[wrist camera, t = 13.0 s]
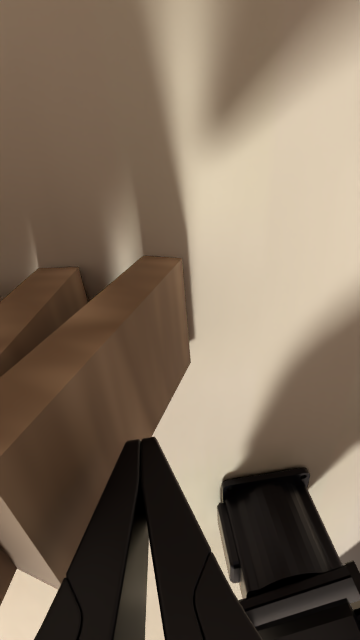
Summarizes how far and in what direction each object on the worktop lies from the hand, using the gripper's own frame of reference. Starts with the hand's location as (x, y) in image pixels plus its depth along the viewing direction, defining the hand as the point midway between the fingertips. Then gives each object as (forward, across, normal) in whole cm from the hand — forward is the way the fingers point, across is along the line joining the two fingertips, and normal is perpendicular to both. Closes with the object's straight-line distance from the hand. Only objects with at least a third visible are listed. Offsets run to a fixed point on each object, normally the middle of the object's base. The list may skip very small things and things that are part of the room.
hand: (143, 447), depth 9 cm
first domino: (+7, -1, 0) cm, 7 cm away
